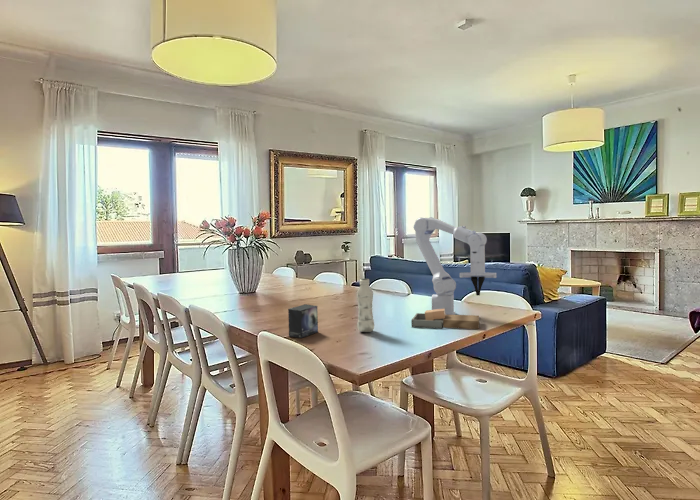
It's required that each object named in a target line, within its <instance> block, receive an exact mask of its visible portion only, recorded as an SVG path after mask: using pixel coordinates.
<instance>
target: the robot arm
mask: <svg viewBox="0 0 700 500" xmlns="http://www.w3.org/2000/svg"><path fill="white" fill-rule="evenodd" d="M412 227H413V230H414V233H415V243H416V244H417V246H418V248H419V250H420V252H421V254H422V256H423V258H424V260H425V262H426V264H427V266H428V268H429V270H430V272H431V274H432V279H431V282H432V285H433V291H434V293H433V294H432V295H431V310H434V309H445V313H446V315H456V311H455V310H454V309H455V306H454V305H455V304H454V303H455V301H454V299H455V298H454V297H455V293H454V292H455V290H457V289H456V288H457V283H456V280H455V279H453V278H452V276H451V275H450V274H449V273H448V272H446V271H445V269H444V267H443V264H442V262H441V261H440V259H439V257H438V255H437V253H436V251H435V249H434V248H433V245H432V243H431V241H430V239H431V236H432V235H433V233H434V232H435V230H440V231H443V232H445V233H448V234H451V235H453V238H454V239H456V240H458V241H461V242H463V243H465V244H467V245H468V246H469V248H470V249H469V250H470V253H469V254H470V255H469V257H470V271H468V272H459V278H461V279H462V278H470V280H471V282H472V284H473V287H474V290H475V294H476V296H481V289H482V287H483V284H484V282H485V279H486V278H487V279H488V278H490V279H492V278H493V279H497V272H488V271H487V272H486V256H485V255H486V251H485V250H486V249H485V248H486V244H487V243H488V239H487V236H486V234H484V233H483V232H477V230H475V229H474V230H471V229H469V228H466V225H462V226H461V225H459V226H454V225H451V224H450V223H447V222H446V221H444V220H441V219H438V218H434V217H432V216H431V217H418V218H417V219H416V220H415V222H414V224H413V226H412ZM435 293H436V294H435Z"/></svg>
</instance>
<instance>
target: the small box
mask: <svg viewBox="0 0 700 500" xmlns="http://www.w3.org/2000/svg"><path fill="white" fill-rule="evenodd" d="M287 312H288V337H290V338H297V339H302V338H306V337H308V336H311V335H314V334H316V333H319V327H318V326H319V324H318V323H319V320H318V317H319V314H318V305H314V304H306V303H305V304H301V305H297V306H294V307H290V308H288V311H287Z"/></svg>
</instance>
